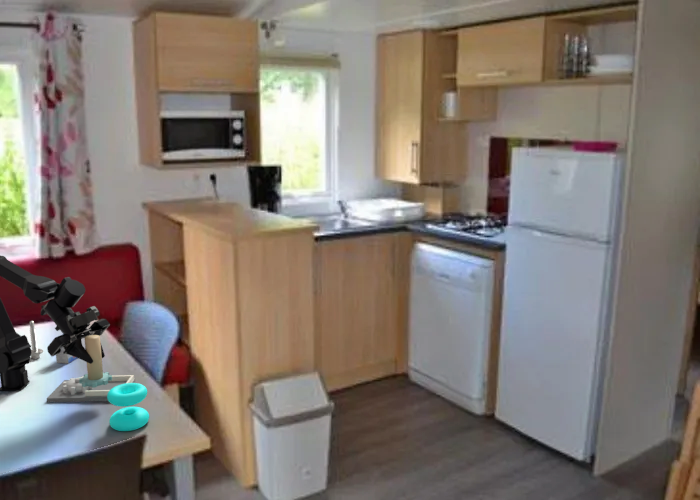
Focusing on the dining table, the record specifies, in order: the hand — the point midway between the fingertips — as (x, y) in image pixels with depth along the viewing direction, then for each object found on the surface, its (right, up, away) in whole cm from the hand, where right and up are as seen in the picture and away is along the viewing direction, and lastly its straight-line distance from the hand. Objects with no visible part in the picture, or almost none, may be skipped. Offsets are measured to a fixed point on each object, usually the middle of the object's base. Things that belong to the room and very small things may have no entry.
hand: (97, 359), depth 183 cm
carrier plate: (-6, -11, +11) cm, 17 cm away
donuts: (+12, -16, -9) cm, 22 cm away
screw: (-36, -6, +39) cm, 53 cm away
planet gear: (-1, -6, +2) cm, 7 cm away
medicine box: (-24, -6, +37) cm, 44 cm away
